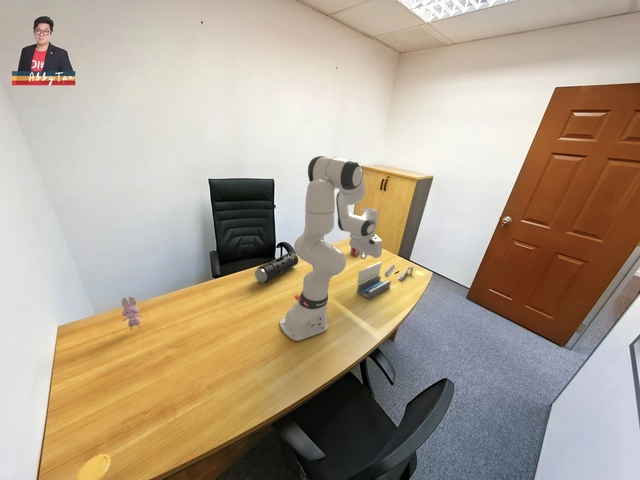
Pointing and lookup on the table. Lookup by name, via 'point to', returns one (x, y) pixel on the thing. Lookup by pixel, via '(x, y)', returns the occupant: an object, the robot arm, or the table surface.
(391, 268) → the white narrow angled pieces
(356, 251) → the soda can
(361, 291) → the base
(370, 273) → the panel
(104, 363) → the table surface
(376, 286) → the blue rounded rod
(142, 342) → the table surface
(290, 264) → the muzzle brake
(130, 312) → the rabbit figure
